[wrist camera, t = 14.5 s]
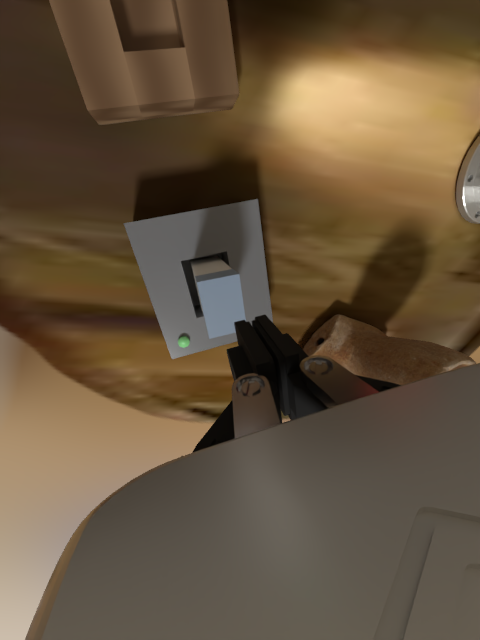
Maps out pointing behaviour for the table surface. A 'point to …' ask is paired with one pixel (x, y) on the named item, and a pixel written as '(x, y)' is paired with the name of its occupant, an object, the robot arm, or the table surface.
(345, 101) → the table surface
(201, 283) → the plug
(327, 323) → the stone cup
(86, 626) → the robot arm
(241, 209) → the port block
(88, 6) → the slotted socket block
